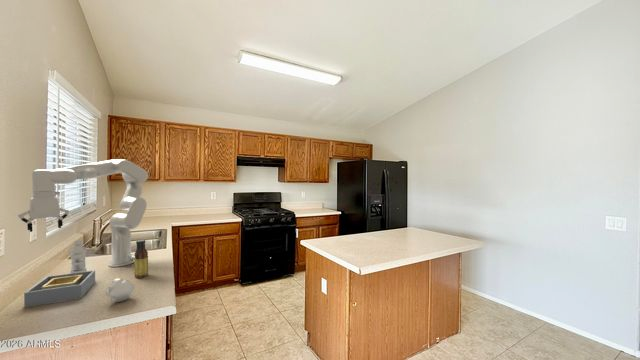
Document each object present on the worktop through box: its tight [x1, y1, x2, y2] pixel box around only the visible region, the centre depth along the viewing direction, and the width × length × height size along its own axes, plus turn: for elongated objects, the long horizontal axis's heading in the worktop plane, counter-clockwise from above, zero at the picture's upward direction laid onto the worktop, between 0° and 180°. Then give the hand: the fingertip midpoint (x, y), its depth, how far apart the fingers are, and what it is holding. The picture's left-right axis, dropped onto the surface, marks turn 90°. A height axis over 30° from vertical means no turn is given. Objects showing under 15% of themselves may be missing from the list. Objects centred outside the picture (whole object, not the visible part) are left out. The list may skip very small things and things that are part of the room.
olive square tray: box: [41, 274, 83, 290], centre depth 120 cm, size 11×11×5 cm
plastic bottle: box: [69, 240, 88, 274], centre depth 137 cm, size 6×7×20 cm
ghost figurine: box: [105, 277, 135, 303], centre depth 113 cm, size 9×10×10 cm
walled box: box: [23, 269, 96, 308], centre depth 120 cm, size 18×20×6 cm
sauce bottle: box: [133, 239, 149, 279], centre depth 140 cm, size 6×6×20 cm
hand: (45, 229), depth 127 cm, fingers open, 9 cm apart
